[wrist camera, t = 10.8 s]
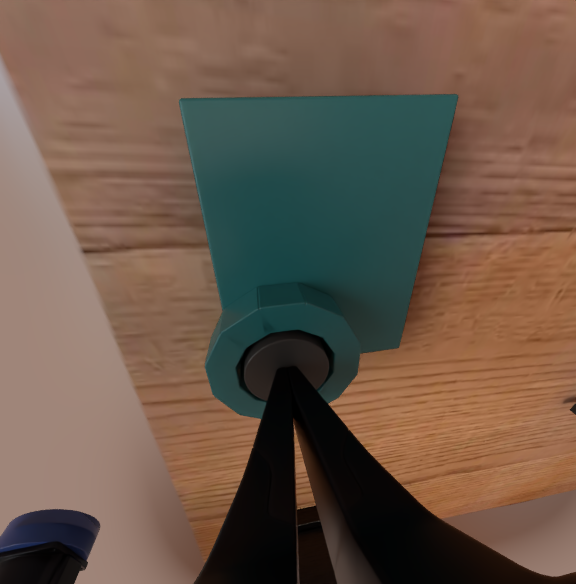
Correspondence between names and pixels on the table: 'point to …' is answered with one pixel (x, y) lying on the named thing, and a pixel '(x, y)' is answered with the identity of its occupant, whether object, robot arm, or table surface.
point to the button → (284, 359)
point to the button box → (313, 221)
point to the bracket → (313, 550)
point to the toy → (573, 409)
